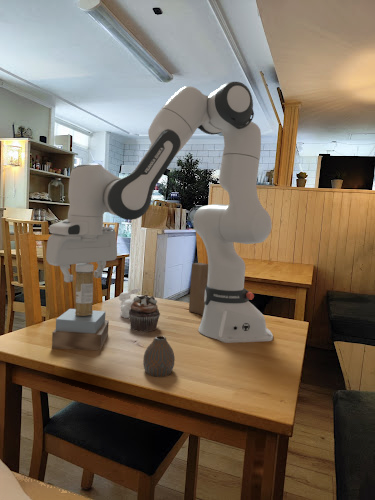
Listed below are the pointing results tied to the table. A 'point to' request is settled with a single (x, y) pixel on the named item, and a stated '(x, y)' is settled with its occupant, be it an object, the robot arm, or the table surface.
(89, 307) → the sprinkles bottle
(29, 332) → the table surface
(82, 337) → the tower base block
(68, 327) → the tower top block
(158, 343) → the vase
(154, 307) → the cupcake
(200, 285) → the wooden block
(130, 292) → the rabbit
